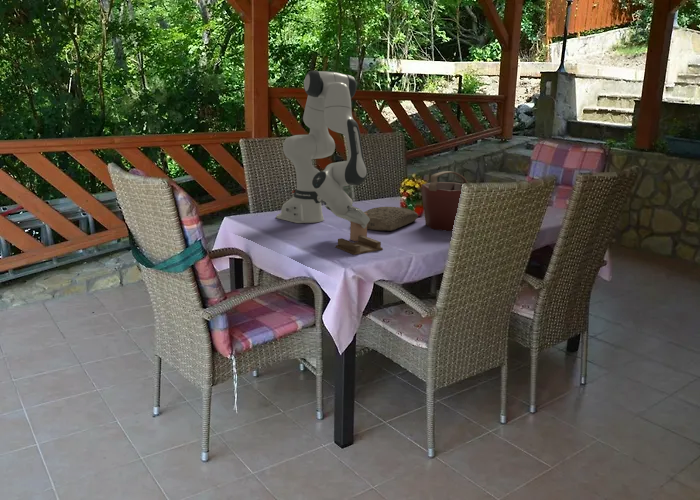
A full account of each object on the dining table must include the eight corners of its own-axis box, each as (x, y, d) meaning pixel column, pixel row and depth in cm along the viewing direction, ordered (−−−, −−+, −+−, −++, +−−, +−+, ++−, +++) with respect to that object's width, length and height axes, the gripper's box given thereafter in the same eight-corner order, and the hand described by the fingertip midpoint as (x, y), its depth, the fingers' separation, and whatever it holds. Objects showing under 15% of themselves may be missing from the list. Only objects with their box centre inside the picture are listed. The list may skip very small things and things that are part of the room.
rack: (353, 254, 239) (353, 246, 238) (335, 247, 248) (335, 239, 247) (382, 249, 247) (382, 241, 246) (363, 242, 256) (364, 234, 255)
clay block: (355, 241, 258) (355, 215, 255) (350, 239, 260) (350, 213, 257) (366, 239, 261) (367, 213, 258) (361, 237, 264) (362, 211, 261)
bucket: (433, 234, 273) (437, 176, 267) (408, 222, 293) (411, 169, 286) (480, 229, 284) (485, 174, 277) (452, 219, 303) (456, 167, 296)
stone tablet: (381, 216, 306) (350, 227, 281) (382, 199, 304) (350, 209, 279) (419, 222, 297) (390, 234, 272) (420, 205, 294) (391, 216, 269)
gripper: (361, 203, 244) (380, 224, 252) (331, 194, 260) (350, 214, 268) (352, 215, 243) (371, 237, 251) (322, 205, 258) (341, 226, 267)
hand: (360, 225), depth 260 cm, fingers open, 5 cm apart
